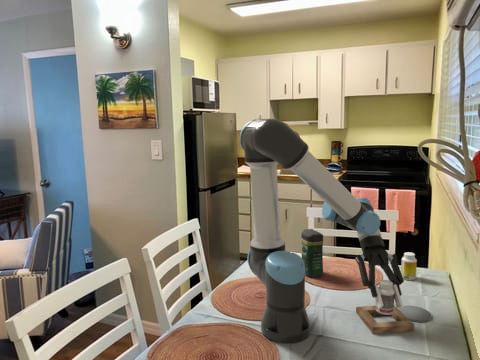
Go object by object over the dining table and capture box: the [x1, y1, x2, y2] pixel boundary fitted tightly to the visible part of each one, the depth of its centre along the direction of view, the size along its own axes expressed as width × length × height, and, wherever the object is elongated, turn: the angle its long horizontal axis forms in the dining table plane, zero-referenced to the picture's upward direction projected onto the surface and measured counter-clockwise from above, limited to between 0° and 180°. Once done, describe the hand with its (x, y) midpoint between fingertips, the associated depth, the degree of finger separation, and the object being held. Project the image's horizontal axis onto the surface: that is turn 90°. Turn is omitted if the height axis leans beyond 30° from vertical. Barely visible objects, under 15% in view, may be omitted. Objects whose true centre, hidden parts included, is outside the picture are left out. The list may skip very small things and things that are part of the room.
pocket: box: [355, 304, 415, 334], centre depth 123 cm, size 13×13×2 cm
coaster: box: [398, 305, 432, 323], centre depth 127 cm, size 10×10×1 cm
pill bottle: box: [375, 279, 395, 316], centre depth 122 cm, size 5×5×10 cm
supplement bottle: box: [400, 251, 418, 281], centre depth 155 cm, size 6×6×10 cm
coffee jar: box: [300, 228, 324, 278], centre depth 161 cm, size 10×8×19 cm
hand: (390, 306), depth 119 cm, fingers closed on pill bottle, 5 cm apart
